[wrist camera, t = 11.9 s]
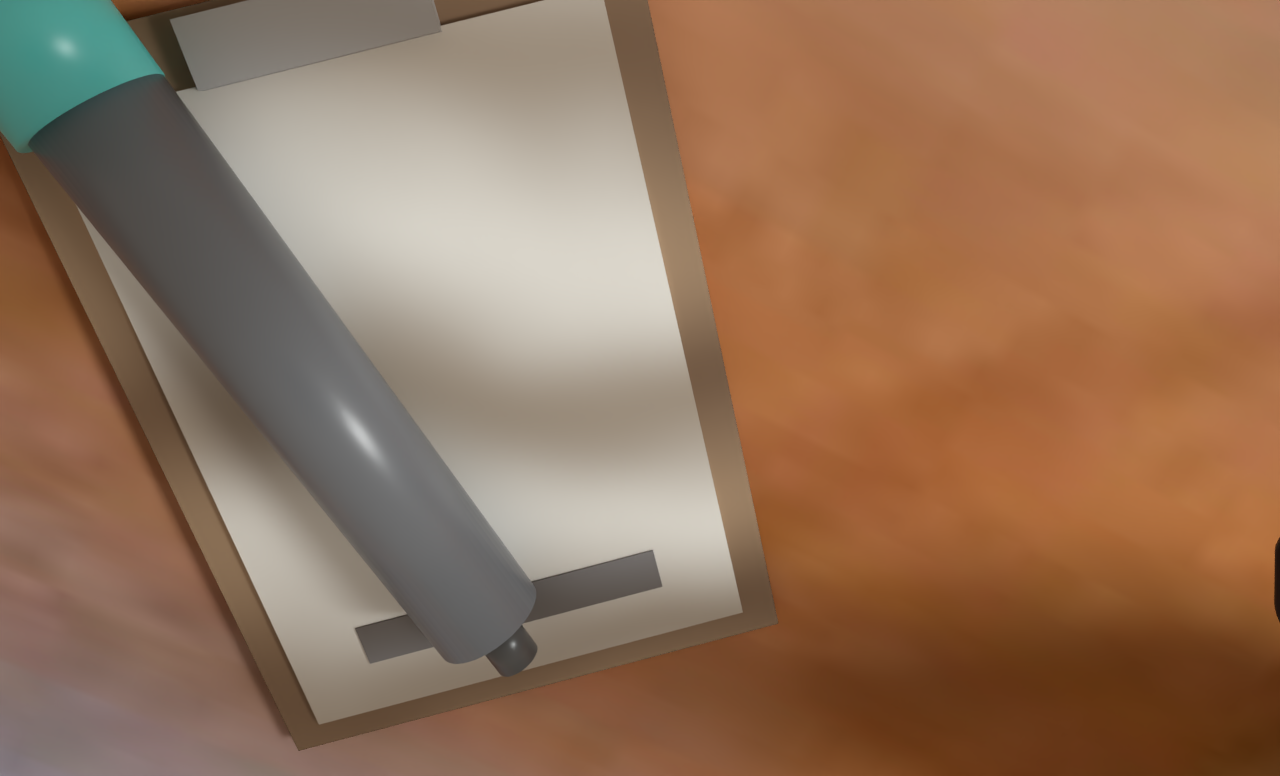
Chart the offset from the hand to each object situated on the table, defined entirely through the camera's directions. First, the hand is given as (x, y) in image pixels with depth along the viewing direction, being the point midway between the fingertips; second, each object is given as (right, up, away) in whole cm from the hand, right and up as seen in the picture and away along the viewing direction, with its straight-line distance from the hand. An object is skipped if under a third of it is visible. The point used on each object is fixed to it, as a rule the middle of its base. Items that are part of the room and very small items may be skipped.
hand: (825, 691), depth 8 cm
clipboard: (-6, +3, +10) cm, 12 cm away
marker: (-7, +3, +9) cm, 12 cm away
